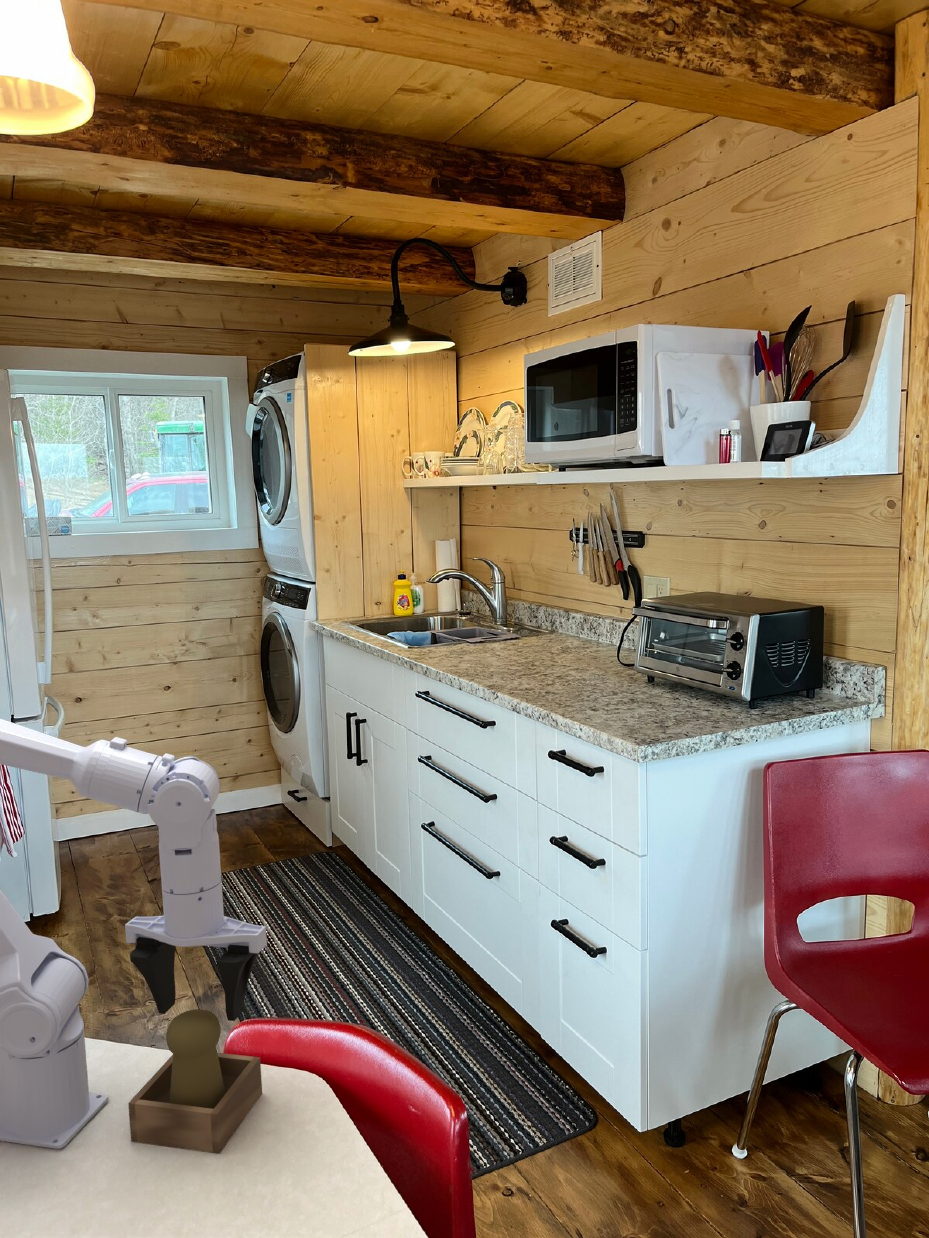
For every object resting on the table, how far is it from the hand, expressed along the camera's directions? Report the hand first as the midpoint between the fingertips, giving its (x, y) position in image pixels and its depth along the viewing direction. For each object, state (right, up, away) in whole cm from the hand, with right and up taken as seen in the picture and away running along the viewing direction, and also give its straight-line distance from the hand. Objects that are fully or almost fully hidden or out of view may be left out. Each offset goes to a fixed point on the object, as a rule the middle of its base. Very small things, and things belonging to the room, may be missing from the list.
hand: (200, 1011), depth 95 cm
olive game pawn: (0, -11, -1) cm, 11 cm away
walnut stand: (0, -11, 0) cm, 10 cm away
